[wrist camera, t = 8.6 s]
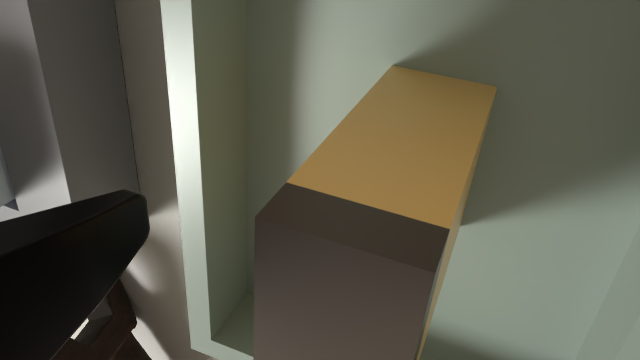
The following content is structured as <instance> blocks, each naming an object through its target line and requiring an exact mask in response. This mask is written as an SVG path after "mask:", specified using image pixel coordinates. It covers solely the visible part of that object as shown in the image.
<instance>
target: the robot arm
mask: <svg viewBox="0 0 640 360" xmlns="http://www.w3.org/2000/svg"><path fill="white" fill-rule="evenodd" d="M149 230H150V225H149V217H148V209H147V201H146V198H145V197H144V195H142V194H141V193H138V192H134V191H131V190H127V189H122V190H118V191H115V192H111V193H107V194H103V195H100V196H96V197H92V198H88V199H84V200H81V201H77V202H73V203H69V204H66V205H62V206H58V207H54V208H51V209H47V210H43V211H39V212H35V213H32V214H28V215H24V216H20V217H17V218H13V219H9V220H5V221H2V222H0V360H51V359H52V358H53V357H54V355H55V354H56V353H57V352H58V351H59V350H60V349H61V347H62V346H63V345H64V344H65V343H66V342H67V341H68V339H69V338H70V337H71V336H72V335H73V334H74V333H75V331H76V330H77V329H78V328H79V327H80V326H81V325H82V323H83V322H84V321H85V320H86V319H87V318H88V317H89V315H90V314H91V313H92V312H93V311H94V310H95V309H96V307H97V306H98V305H99V304H100V303H101V301H102V300H103V299H104V298H105V296H106V295H107V294H108V292H109V291H110V290H111V288H112V287H113V286H114V284H115V283H116V281H117V280H118V279H119V277H120V276H121V274H122V273H123V272H124V270H125V269H126V267H127V266H128V265H129V263H130V262H131V260H132V259H133V258H134V256H135V255H136V253H137V252H138V251H139V249H140V248H141V246H142V245H143V244H144V242H145V241H146V239H147V237H148V234H149Z"/></svg>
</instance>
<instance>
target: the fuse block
mask: <svg viewBox="0 0 640 360" xmlns="http://www.w3.org/2000/svg"><path fill="white" fill-rule="evenodd" d="M0 146H1V149H2V153H3V156H4V160H5V163H6V167H7V170H8V174H9V178H10V181H11V185H12V188H13V192H14V195H15V199H13V200H12V201H10V202H8V203H7V204H5V205H3V206H1V207H0V222H2V221H5V220H9V219H13V218H17V217H20V216H24V215H28V214H32V213H35V212H39V211H43V210H47V209H51V208H54V207H58V206H62V205H66V204H69V203H73V202H77V201H81V200H84V199H88V198H92V197H96V196H100V195H103V194H107V193H111V192H115V191H118V190H122V189H127V190H131V191H134V192H138V193H139V186H138V178H137V171H136V163H135V156H134V148H133V141H132V133H131V126H130V119H129V111H128V104H127V96H126V89H125V81H124V74H123V66H122V59H121V52H120V44H119V37H118V29H117V22H116V14H115V7H114V0H0Z"/></svg>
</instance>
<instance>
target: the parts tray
mask: <svg viewBox="0 0 640 360" xmlns="http://www.w3.org/2000/svg"><path fill="white" fill-rule="evenodd" d="M160 5H161V16H162V27H163V39H164V50H165V61H166V72H167V83H168V95H169V106H170V117H171V128H172V140H173V151H174V162H175V173H176V185H177V196H178V207H179V218H180V229H181V241H182V252H183V263H184V274H185V286H186V297H187V308H188V319H189V330H190V342H191V349H193V350H196V351H198V352H201V353H203V354H206V355H208V356H211V357H213V358H216V359H218V360H253V356H254V253H255V216H256V215H257V214H258V213H259V212H260V211H261V209H262V208H263V207H264V206H265V205H266V204H267V203H268V202H269V201H270V200H271V198H272V197H273V196H274V195H275V194H276V193H277V192H278V191H279V190H280V189H281V187H282V186H283V185H284V184H285V183H286V182H287V181H288V180H289V179H290V177H291V176H292V175H293V174H294V173H295V172H296V171H297V170H298V169H299V168H300V166H301V165H302V164H303V163H304V162H305V161H306V160H307V159H308V158H309V157H310V155H311V154H312V153H313V152H314V151H315V150H316V149H317V148H318V147H319V145H320V144H321V143H322V142H323V141H324V140H325V139H326V138H327V137H328V136H329V134H330V133H331V132H332V131H333V130H334V129H335V128H336V127H337V126H338V125H339V123H340V122H341V121H342V120H343V119H344V118H345V117H346V116H347V115H348V113H349V112H350V111H351V110H352V109H353V108H354V107H355V106H356V105H357V104H358V102H359V101H360V100H361V99H362V98H363V97H364V96H365V95H366V94H367V93H368V91H369V90H370V89H371V88H372V87H373V86H374V85H375V84H376V83H377V81H378V80H379V79H380V78H381V77H382V76H383V75H384V74H385V73H386V72H387V70H388V69H389V68H390V67H391V66H392V65H393V66H398V67H403V68H408V69H413V70H418V71H423V72H427V73H432V74H437V75H442V76H447V77H452V78H457V79H462V80H467V81H472V82H476V83H481V84H486V85H491V86H496V87H497V90H496V94H495V97H494V101H493V105H492V109H491V112H490V116H489V120H488V124H487V127H486V131H485V135H484V139H483V142H482V146H481V150H480V153H479V157H478V161H477V165H476V168H475V172H474V176H473V180H472V183H471V187H470V191H469V195H468V198H467V202H466V206H465V210H464V213H463V217H462V221H461V225H460V228H459V231H458V235H457V238H456V241H455V244H454V248H453V251H452V254H451V257H450V261H449V264H448V267H447V270H446V274H445V277H444V280H443V284H442V287H441V290H440V293H439V297H438V300H437V303H436V306H435V310H434V313H433V316H432V319H431V323H430V326H429V329H428V333H427V336H426V339H425V342H424V346H423V349H422V352H421V355H420V359H419V360H640V0H160Z"/></svg>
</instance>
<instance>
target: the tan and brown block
mask: <svg viewBox="0 0 640 360" xmlns="http://www.w3.org/2000/svg"><path fill="white" fill-rule="evenodd" d="M496 90H497V87H496V86H491V85H486V84H481V83H476V82H472V81H467V80H462V79H457V78H452V77H447V76H442V75H437V74H432V73H427V72H423V71H418V70H413V69H408V68H403V67H398V66H393V65H392V66H391V67H390V68H389V69H388V70H387V72H386V73H385V74H384V75H383V76H382V77H381V78H380V79H379V80H378V81H377V83H376V84H375V85H374V86H373V87H372V88H371V89H370V90H369V91H368V93H367V94H366V95H365V96H364V97H363V98H362V99H361V100H360V101H359V102H358V104H357V105H356V106H355V107H354V108H353V109H352V110H351V111H350V112H349V113H348V115H347V116H346V117H345V118H344V119H343V120H342V121H341V122H340V123H339V125H338V126H337V127H336V128H335V129H334V130H333V131H332V132H331V133H330V134H329V136H328V137H327V138H326V139H325V140H324V141H323V142H322V143H321V144H320V145H319V147H318V148H317V149H316V150H315V151H314V152H313V153H312V154H311V155H310V157H309V158H308V159H307V160H306V161H305V162H304V163H303V164H302V165H301V166H300V168H299V169H298V170H297V171H296V172H295V173H294V174H293V175H292V176H291V177H290V179H289V180H288V181H287V182H286V183H285V184H284V185H283V186H282V187H281V189H280V190H279V191H278V192H277V193H276V194H275V195H274V196H273V197H272V198H271V200H270V201H269V202H268V203H267V204H266V205H265V206H264V207H263V208H262V209H261V211H260V212H259V213H258V214H257V215H256V216H255V253H254V356H253V360H419V359H420V355H421V352H422V349H423V346H424V342H425V339H426V336H427V333H428V329H429V326H430V323H431V319H432V316H433V313H434V310H435V306H436V303H437V300H438V297H439V293H440V290H441V287H442V284H443V280H444V277H445V274H446V270H447V267H448V264H449V261H450V257H451V254H452V251H453V248H454V244H455V241H456V238H457V235H458V231H459V228H460V225H461V221H462V217H463V213H464V210H465V206H466V202H467V198H468V195H469V191H470V187H471V183H472V180H473V176H474V172H475V168H476V165H477V161H478V157H479V153H480V150H481V146H482V142H483V139H484V135H485V131H486V127H487V124H488V120H489V116H490V112H491V109H492V105H493V101H494V97H495V94H496Z"/></svg>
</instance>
